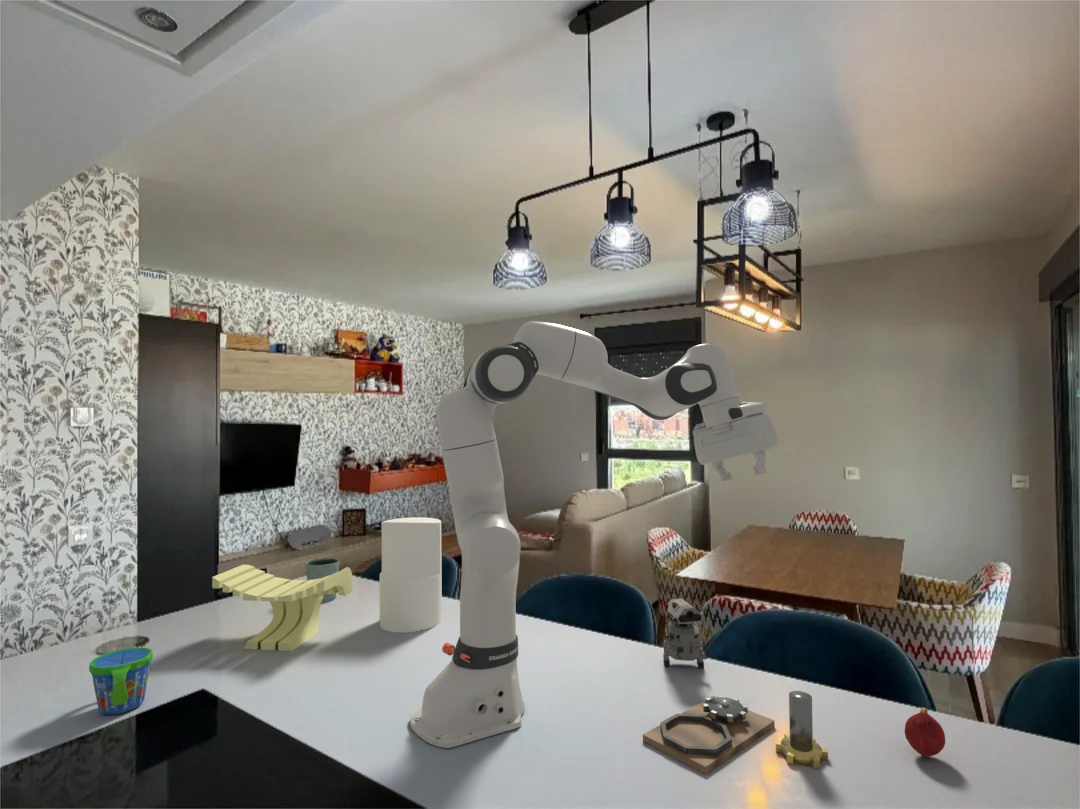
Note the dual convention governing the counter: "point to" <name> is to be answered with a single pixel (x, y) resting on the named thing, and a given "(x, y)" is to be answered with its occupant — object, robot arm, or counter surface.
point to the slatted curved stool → (284, 603)
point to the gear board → (705, 737)
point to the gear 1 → (725, 708)
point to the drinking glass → (322, 572)
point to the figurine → (683, 633)
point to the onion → (924, 734)
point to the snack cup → (121, 679)
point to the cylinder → (411, 574)
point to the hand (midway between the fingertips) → (743, 477)
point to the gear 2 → (801, 734)
